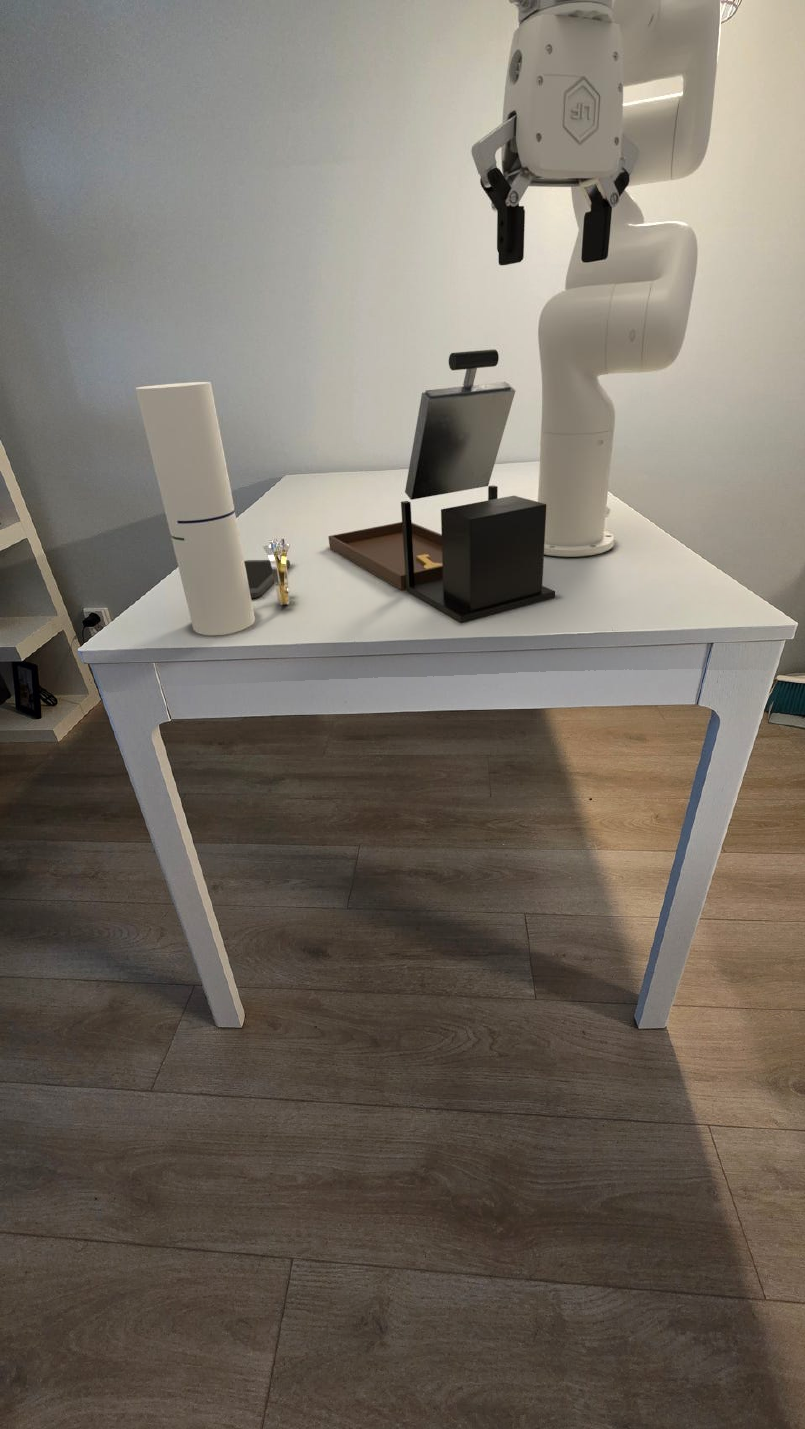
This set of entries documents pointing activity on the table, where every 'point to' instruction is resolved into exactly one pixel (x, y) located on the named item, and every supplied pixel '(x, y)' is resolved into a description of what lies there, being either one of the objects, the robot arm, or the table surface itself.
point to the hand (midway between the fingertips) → (553, 262)
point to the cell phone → (259, 576)
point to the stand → (484, 557)
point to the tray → (390, 552)
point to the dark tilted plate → (459, 431)
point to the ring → (279, 568)
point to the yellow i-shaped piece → (427, 561)
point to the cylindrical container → (198, 504)
